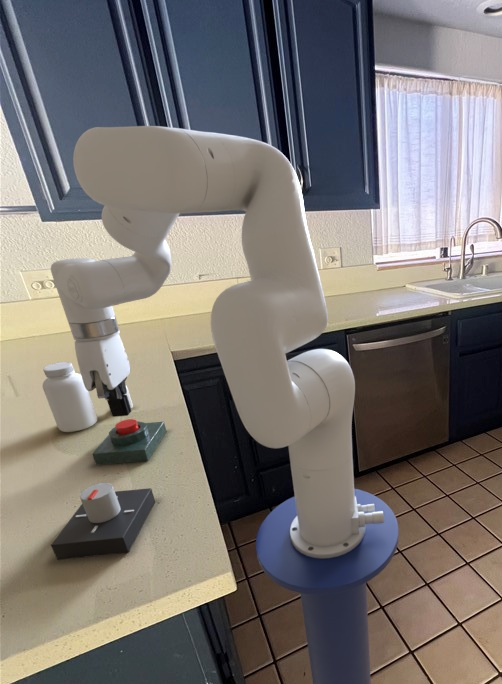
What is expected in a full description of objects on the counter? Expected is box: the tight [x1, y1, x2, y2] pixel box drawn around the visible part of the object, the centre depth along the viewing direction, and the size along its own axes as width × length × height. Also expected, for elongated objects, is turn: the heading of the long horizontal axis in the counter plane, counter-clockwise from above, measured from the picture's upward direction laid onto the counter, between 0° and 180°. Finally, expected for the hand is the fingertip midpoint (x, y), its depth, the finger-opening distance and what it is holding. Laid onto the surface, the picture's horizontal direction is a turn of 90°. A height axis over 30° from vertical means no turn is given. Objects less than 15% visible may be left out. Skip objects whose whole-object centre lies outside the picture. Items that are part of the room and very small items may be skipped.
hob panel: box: [50, 487, 156, 561], centre depth 69 cm, size 10×12×3 cm
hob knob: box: [79, 482, 121, 523], centre depth 67 cm, size 4×4×5 cm
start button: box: [114, 418, 139, 435], centre depth 90 cm, size 4×4×2 cm
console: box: [91, 420, 167, 466], centre depth 91 cm, size 10×12×4 cm
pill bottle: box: [42, 361, 98, 433], centre depth 98 cm, size 8×8×15 cm
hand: (122, 414), depth 88 cm, fingers closed
